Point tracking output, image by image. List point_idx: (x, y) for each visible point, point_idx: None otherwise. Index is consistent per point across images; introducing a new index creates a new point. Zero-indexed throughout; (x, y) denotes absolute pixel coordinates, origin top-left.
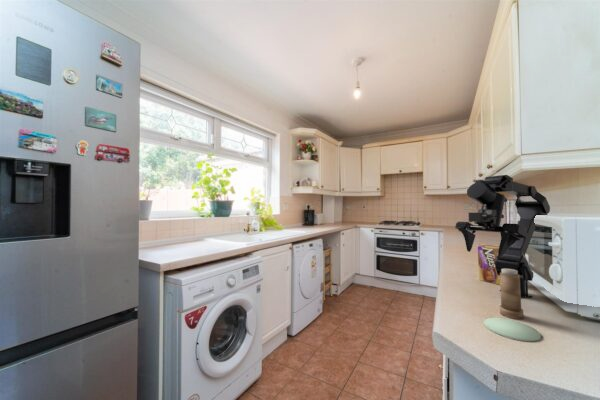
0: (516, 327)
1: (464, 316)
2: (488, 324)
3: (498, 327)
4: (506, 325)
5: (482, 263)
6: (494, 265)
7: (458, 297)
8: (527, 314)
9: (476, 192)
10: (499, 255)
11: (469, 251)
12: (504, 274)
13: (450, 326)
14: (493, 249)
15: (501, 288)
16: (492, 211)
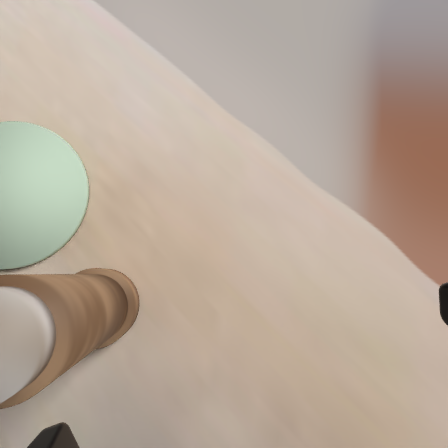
0: (3, 212)
1: (134, 127)
2: (47, 140)
3: (20, 153)
4: (24, 192)
5: None
6: None
7: (301, 246)
8: (94, 379)
9: None
10: (48, 428)
11: (441, 308)
12: (3, 286)
13: (82, 31)
14: None
15: (76, 276)
16: None
